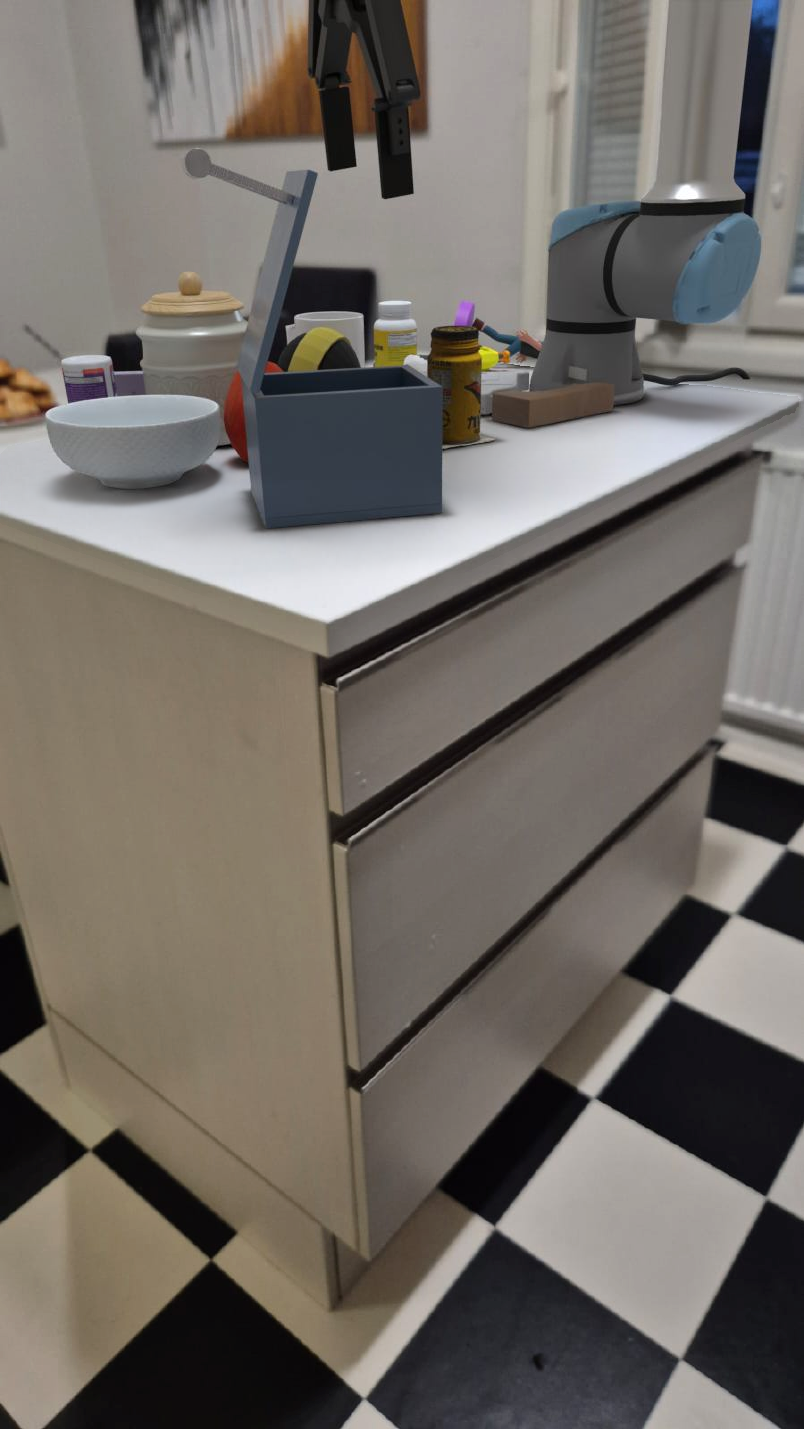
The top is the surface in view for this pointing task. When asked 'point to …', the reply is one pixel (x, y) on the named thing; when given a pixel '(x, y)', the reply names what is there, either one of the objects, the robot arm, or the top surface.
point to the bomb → (318, 352)
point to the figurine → (517, 343)
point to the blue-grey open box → (344, 445)
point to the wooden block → (552, 404)
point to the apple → (239, 413)
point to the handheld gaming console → (501, 385)
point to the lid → (276, 259)
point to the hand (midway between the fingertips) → (368, 182)
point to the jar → (192, 343)
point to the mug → (336, 320)
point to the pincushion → (417, 363)
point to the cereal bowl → (135, 437)
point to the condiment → (458, 383)
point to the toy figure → (492, 358)
